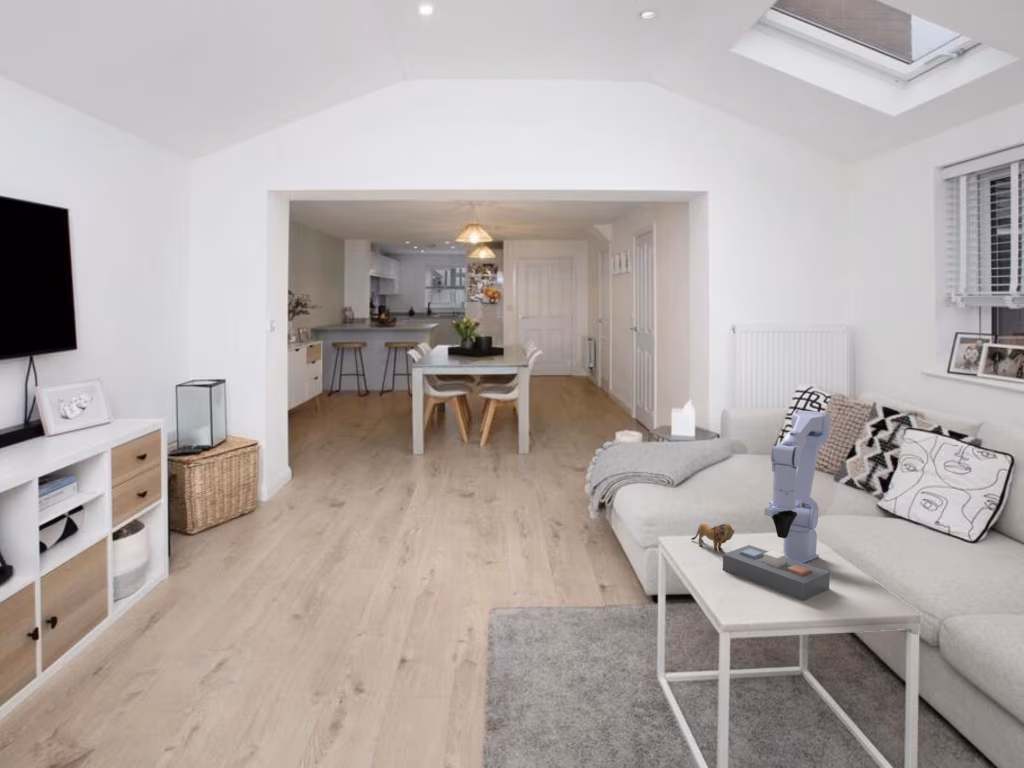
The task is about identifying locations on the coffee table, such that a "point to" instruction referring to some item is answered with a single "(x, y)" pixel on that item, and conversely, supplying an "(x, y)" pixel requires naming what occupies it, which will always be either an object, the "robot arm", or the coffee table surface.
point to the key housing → (777, 574)
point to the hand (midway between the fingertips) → (782, 537)
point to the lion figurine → (715, 534)
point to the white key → (774, 559)
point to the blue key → (751, 553)
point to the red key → (798, 570)
